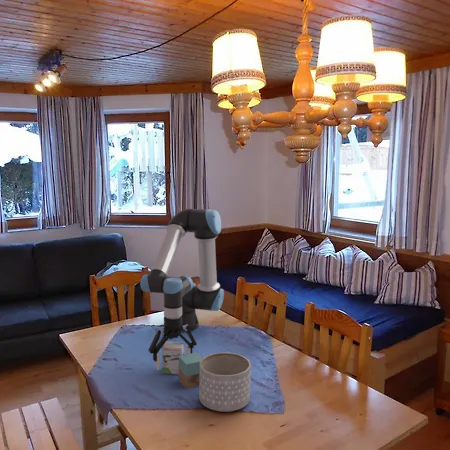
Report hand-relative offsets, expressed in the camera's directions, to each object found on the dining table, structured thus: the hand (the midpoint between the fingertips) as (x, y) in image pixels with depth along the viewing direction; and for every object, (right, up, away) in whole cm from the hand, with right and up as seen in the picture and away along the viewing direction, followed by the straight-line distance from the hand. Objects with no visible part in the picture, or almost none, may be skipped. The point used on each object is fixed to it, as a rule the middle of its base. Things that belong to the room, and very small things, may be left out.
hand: (173, 364), depth 176 cm
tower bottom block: (+8, -4, -8) cm, 12 cm away
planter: (+21, -6, -21) cm, 31 cm away
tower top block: (+8, +1, -9) cm, 12 cm away
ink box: (0, -3, 0) cm, 3 cm away
